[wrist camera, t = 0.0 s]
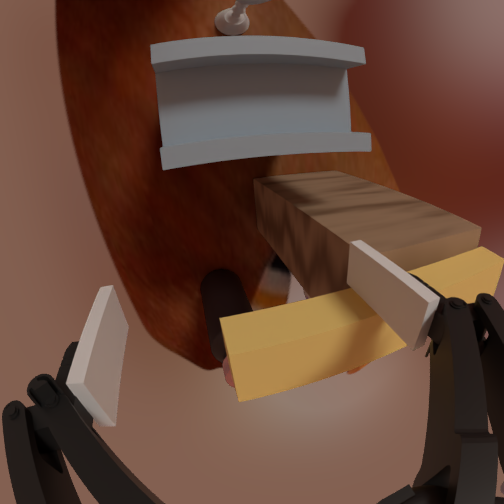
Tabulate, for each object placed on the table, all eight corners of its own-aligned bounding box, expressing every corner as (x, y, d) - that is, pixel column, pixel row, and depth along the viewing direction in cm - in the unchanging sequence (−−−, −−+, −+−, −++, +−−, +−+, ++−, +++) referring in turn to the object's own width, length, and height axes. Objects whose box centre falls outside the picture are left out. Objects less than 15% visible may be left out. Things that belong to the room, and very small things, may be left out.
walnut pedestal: (253, 178, 41) (365, 256, 16) (336, 170, 43) (481, 227, 18) (257, 228, 44) (350, 351, 19) (336, 216, 47) (461, 302, 22)
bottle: (247, 289, 48) (286, 374, 30) (215, 309, 48) (238, 401, 31) (226, 260, 45) (258, 344, 27) (192, 283, 45) (204, 375, 27)
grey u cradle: (166, 91, 33) (150, 44, 14) (278, 82, 36) (363, 47, 16) (173, 152, 36) (162, 170, 17) (282, 139, 39) (371, 151, 20)
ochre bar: (219, 318, 15) (228, 355, 12) (482, 246, 19) (504, 259, 17) (229, 366, 17) (238, 402, 14) (472, 283, 21) (492, 297, 18)
